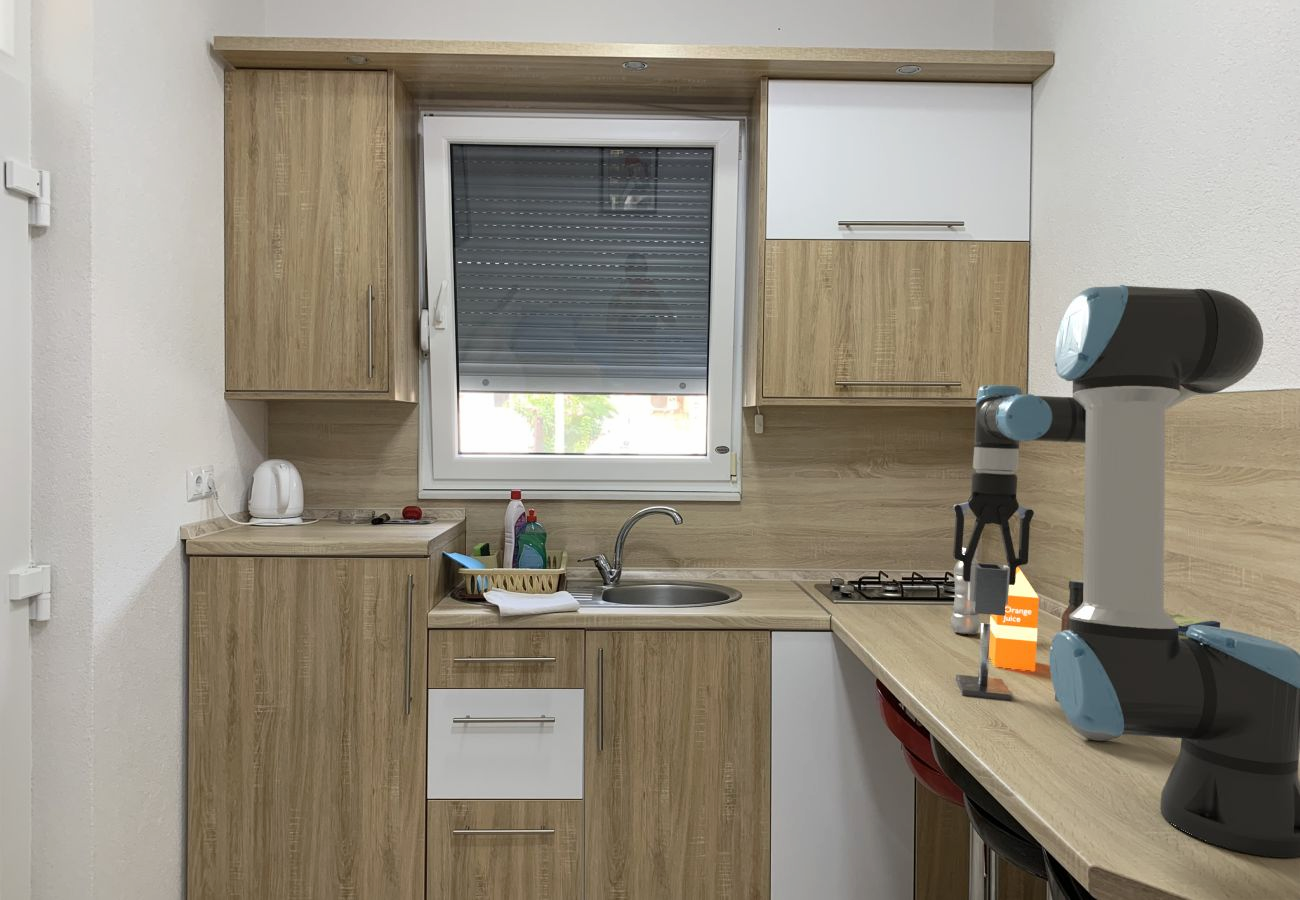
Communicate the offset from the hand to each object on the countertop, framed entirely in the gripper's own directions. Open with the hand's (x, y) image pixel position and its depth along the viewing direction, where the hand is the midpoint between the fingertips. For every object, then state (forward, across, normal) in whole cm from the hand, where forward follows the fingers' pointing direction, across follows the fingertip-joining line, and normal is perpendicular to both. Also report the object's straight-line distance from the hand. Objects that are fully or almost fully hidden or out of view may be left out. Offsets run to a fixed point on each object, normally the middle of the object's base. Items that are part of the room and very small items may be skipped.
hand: (987, 600), depth 158 cm
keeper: (+16, 0, 0) cm, 16 cm away
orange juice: (+17, -8, -22) cm, 29 cm away
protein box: (+16, -30, -4) cm, 34 cm away
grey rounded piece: (+16, -14, +22) cm, 30 cm away
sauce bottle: (+16, -18, -8) cm, 25 cm away
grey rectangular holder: (+2, 0, 0) cm, 2 cm away
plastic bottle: (+17, -2, -47) cm, 50 cm away
